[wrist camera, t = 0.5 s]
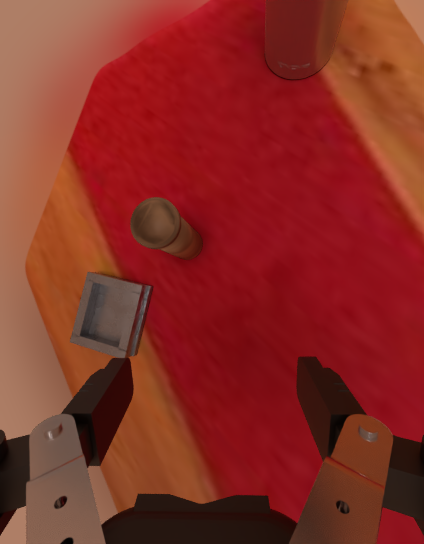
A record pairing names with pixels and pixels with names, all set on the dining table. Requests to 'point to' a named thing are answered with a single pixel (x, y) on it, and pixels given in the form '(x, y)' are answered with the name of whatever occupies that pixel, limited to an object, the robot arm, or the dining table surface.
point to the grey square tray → (111, 315)
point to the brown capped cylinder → (164, 229)
